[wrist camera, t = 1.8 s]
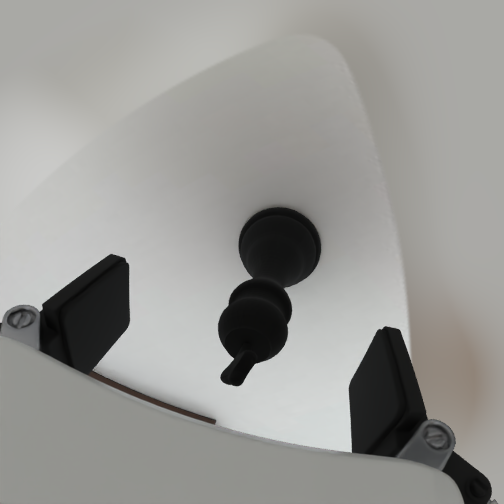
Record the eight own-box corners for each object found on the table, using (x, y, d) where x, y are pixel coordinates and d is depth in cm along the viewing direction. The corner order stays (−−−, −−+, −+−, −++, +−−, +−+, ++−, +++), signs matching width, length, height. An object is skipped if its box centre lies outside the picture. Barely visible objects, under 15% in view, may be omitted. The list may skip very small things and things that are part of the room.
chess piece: (225, 252, 18) (138, 376, 8) (270, 190, 16) (203, 280, 7) (288, 296, 18) (255, 445, 9) (337, 240, 16) (354, 380, 7)
